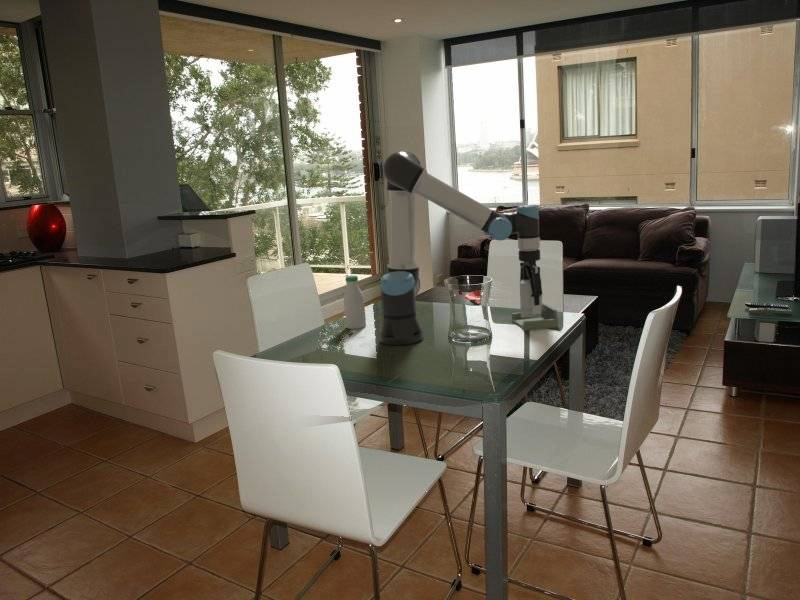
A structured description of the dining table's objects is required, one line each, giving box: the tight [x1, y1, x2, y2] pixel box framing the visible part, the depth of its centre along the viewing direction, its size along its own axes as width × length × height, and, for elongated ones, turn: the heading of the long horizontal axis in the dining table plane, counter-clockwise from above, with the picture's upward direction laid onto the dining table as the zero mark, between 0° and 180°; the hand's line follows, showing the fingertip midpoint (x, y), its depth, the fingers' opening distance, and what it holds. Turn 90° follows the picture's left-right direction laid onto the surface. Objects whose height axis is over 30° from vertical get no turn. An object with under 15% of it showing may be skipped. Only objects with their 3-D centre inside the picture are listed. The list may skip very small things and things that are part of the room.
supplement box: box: [519, 279, 543, 317], centre depth 234 cm, size 7×7×13 cm
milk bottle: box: [343, 275, 367, 330], centre depth 250 cm, size 8×8×20 cm
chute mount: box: [511, 302, 559, 332], centre depth 235 cm, size 12×15×6 cm
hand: (531, 310), depth 235 cm, fingers closed on supplement box, 9 cm apart
